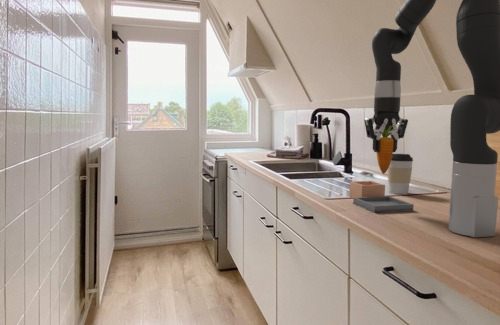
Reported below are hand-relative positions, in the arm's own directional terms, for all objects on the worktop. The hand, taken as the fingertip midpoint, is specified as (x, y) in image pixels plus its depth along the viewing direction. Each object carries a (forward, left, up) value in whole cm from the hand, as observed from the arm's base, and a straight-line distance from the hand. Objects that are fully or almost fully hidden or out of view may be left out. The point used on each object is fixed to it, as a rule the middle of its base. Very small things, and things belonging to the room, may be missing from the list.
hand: (384, 151), depth 119 cm
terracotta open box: (+13, -2, -17) cm, 22 cm away
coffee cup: (+21, -20, -18) cm, 34 cm away
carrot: (0, 0, -7) cm, 7 cm away
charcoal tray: (0, 0, -17) cm, 17 cm away
